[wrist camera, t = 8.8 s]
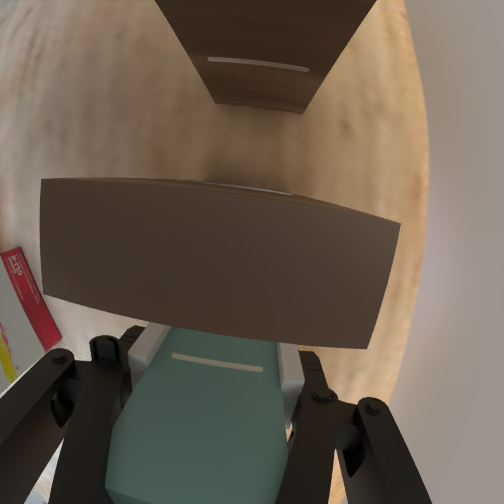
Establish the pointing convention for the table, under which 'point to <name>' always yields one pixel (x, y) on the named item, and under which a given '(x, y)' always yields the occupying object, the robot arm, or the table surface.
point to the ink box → (21, 319)
